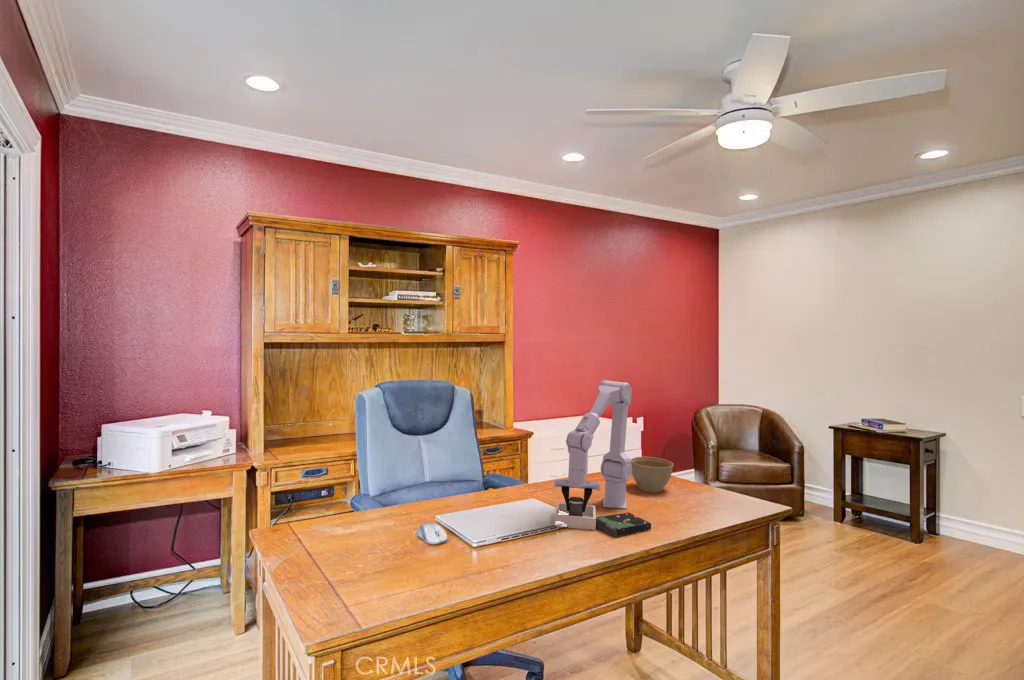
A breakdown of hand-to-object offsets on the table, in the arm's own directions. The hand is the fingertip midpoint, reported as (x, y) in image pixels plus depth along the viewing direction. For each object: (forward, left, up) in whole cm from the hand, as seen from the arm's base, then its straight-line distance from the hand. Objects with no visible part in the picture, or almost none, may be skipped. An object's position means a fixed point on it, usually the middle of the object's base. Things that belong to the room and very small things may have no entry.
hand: (575, 510), depth 180 cm
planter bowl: (-43, +28, -4) cm, 52 cm away
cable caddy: (0, 0, -3) cm, 3 cm away
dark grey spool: (0, 0, -2) cm, 2 cm away
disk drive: (+3, +15, -4) cm, 15 cm away
